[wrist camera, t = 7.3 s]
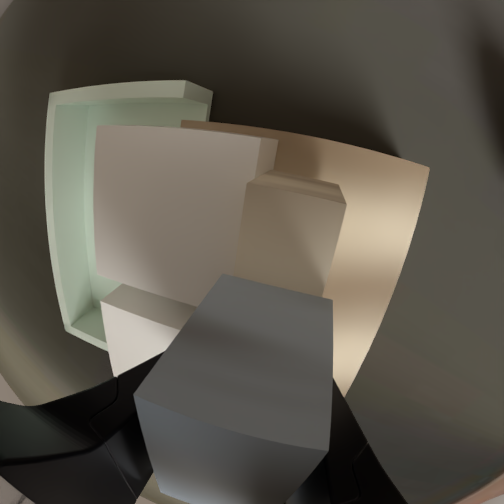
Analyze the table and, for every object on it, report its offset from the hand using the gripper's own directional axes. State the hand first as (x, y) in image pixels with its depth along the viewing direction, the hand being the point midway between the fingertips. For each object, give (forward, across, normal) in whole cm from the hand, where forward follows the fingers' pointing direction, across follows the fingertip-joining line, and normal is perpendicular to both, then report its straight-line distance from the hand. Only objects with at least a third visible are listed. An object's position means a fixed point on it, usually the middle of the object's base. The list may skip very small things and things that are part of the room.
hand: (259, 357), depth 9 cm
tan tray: (+8, 0, 0) cm, 8 cm away
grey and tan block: (+4, 0, 0) cm, 4 cm away
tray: (+8, +10, 0) cm, 13 cm away
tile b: (+4, +4, -3) cm, 7 cm away
